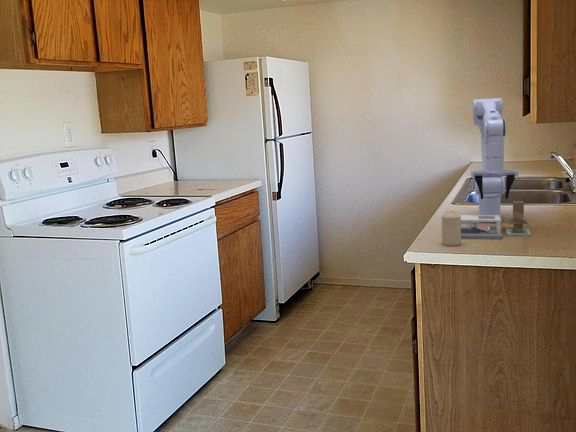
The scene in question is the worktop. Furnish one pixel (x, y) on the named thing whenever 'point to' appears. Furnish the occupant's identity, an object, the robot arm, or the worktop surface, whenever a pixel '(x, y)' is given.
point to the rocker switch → (477, 225)
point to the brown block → (518, 217)
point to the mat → (511, 233)
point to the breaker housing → (475, 233)
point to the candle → (451, 228)
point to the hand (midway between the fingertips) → (494, 198)
